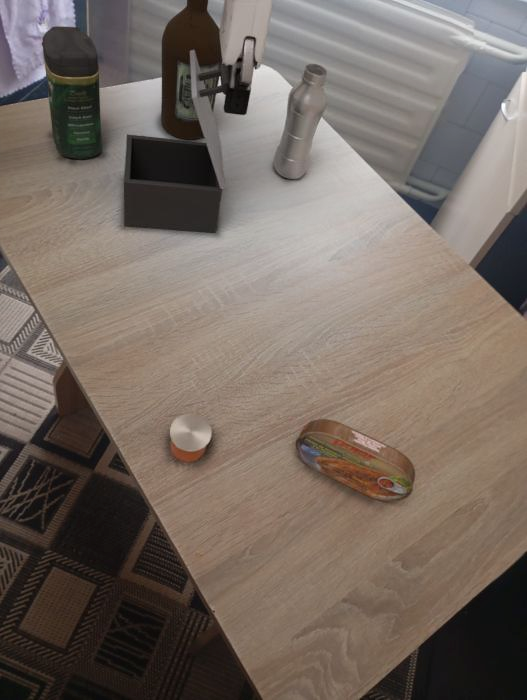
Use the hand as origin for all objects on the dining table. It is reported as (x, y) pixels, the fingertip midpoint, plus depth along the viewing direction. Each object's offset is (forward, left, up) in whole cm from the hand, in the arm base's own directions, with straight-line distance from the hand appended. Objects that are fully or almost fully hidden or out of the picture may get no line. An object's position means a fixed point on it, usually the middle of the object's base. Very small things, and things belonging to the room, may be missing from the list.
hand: (233, 99), depth 80 cm
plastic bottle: (+14, +12, -21) cm, 28 cm away
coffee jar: (-24, +14, -21) cm, 34 cm away
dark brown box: (-8, 0, -20) cm, 22 cm away
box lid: (-4, 0, -4) cm, 5 cm away
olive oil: (-5, +23, -21) cm, 31 cm away
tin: (+14, -48, -21) cm, 54 cm away
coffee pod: (-6, -44, -20) cm, 49 cm away
